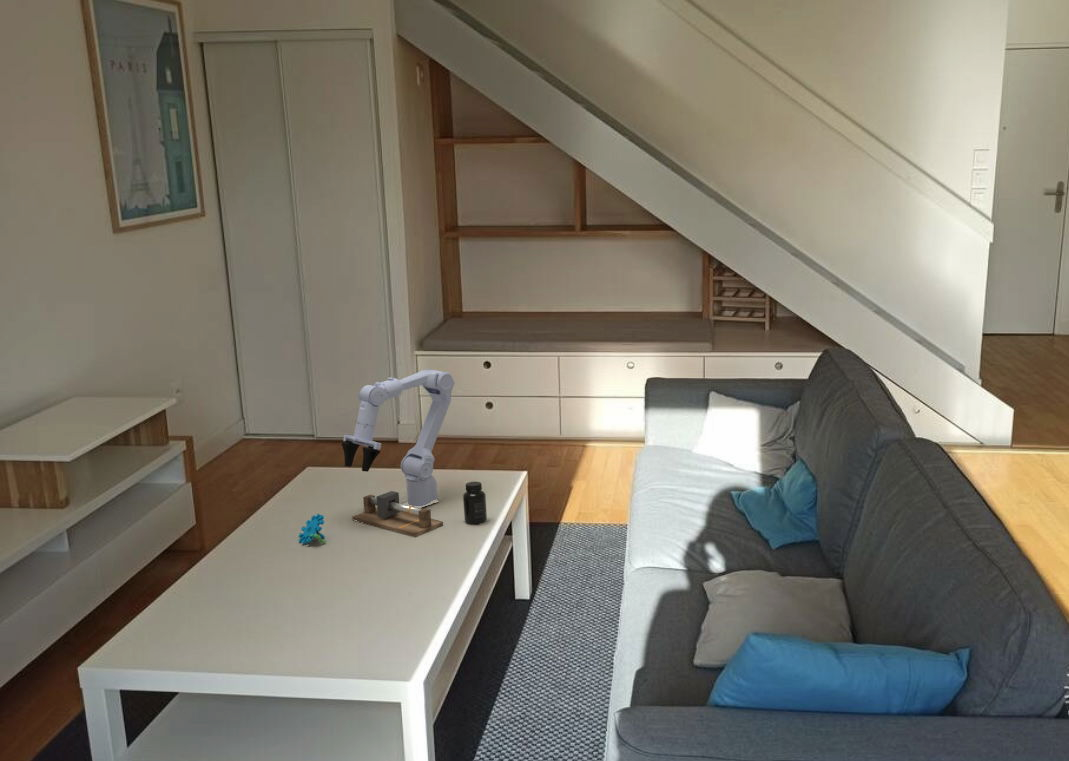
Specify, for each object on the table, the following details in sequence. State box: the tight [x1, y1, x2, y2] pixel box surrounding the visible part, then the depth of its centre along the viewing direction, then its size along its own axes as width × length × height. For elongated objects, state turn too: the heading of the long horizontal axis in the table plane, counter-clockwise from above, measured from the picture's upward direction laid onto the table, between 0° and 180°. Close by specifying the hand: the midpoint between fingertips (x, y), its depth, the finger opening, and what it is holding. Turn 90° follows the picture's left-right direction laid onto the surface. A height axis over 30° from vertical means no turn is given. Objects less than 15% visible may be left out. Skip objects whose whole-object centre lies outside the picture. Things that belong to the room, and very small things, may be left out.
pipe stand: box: [351, 494, 444, 538], centre depth 305 cm, size 12×27×6 cm, turn 52°
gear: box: [298, 513, 327, 545], centre depth 293 cm, size 11×6×10 cm
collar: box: [376, 490, 400, 518], centre depth 307 cm, size 6×3×6 cm, turn 142°
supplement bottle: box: [462, 481, 488, 526], centre depth 303 cm, size 7×7×12 cm
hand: (356, 468), depth 303 cm, fingers open, 7 cm apart
